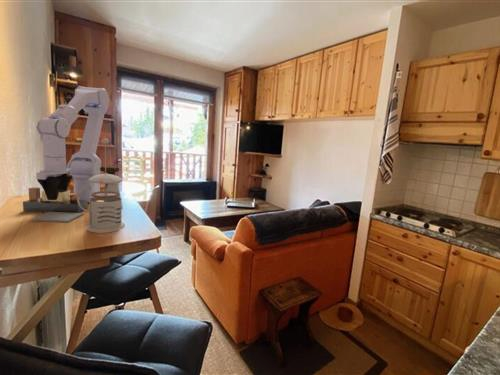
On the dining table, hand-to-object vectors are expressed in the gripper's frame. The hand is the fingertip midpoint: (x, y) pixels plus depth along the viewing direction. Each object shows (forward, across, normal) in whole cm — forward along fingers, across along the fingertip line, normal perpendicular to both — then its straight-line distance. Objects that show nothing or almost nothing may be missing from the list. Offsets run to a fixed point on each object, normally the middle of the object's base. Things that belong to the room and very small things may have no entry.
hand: (56, 198), depth 82 cm
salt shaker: (+4, +3, +18) cm, 19 cm away
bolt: (+4, -5, +14) cm, 16 cm away
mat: (+4, +8, +5) cm, 10 cm away
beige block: (0, 0, 0) cm, 0 cm away
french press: (+4, +15, +20) cm, 26 cm away
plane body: (+4, 0, 0) cm, 4 cm away
